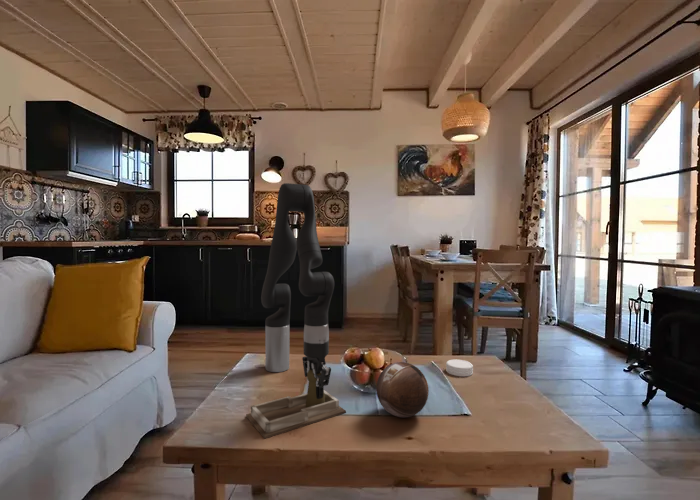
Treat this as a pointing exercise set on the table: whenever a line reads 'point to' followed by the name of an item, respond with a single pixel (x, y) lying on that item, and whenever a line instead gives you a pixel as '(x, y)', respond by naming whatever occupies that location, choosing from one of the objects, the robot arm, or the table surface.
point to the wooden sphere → (402, 389)
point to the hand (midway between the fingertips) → (315, 395)
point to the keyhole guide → (291, 414)
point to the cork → (312, 391)
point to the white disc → (459, 367)
